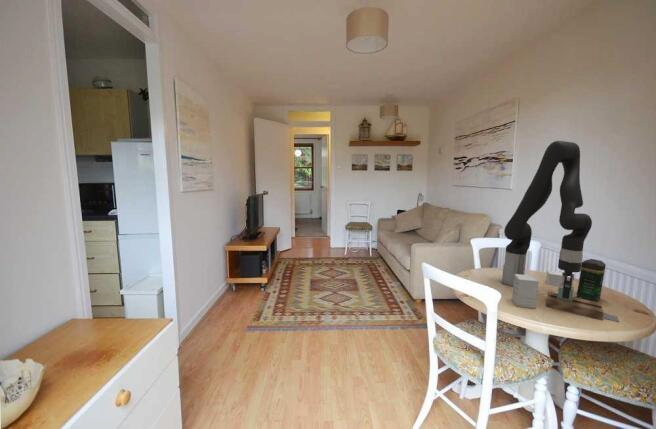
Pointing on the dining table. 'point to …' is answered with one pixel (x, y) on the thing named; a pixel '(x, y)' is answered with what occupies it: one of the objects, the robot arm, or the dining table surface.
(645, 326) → the dining table surface
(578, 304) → the wooden slotted block
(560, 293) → the stub
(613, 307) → the dining table surface
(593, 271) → the coffee jar
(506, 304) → the dining table surface
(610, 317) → the mat
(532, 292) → the supplement box
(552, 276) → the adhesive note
